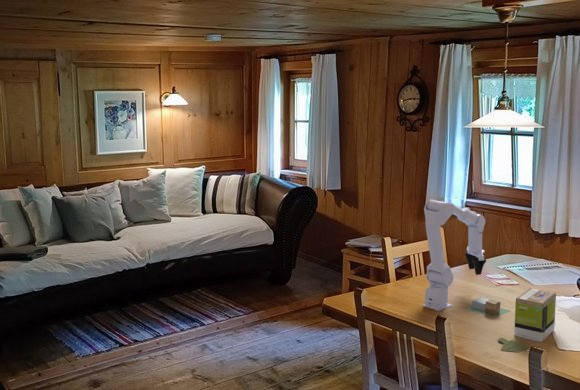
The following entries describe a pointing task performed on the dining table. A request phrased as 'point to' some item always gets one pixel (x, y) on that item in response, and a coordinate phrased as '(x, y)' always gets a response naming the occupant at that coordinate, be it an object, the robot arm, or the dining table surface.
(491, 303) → the walnut cube
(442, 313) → the dining table surface
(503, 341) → the green leaf
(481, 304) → the base block
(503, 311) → the felt mat
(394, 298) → the dining table surface
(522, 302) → the tea box
